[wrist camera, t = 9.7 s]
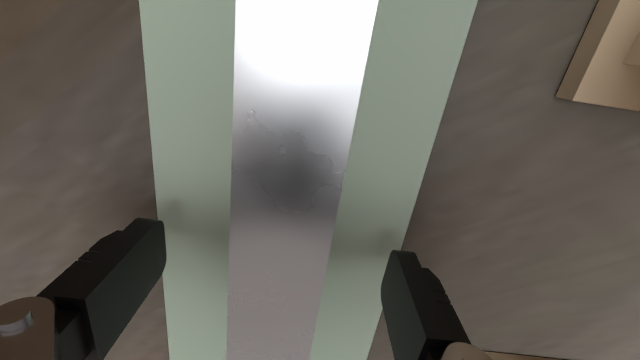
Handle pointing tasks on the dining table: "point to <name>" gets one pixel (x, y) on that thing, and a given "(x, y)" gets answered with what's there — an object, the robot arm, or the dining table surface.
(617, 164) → the dining table surface
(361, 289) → the mat
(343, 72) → the rail
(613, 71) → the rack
